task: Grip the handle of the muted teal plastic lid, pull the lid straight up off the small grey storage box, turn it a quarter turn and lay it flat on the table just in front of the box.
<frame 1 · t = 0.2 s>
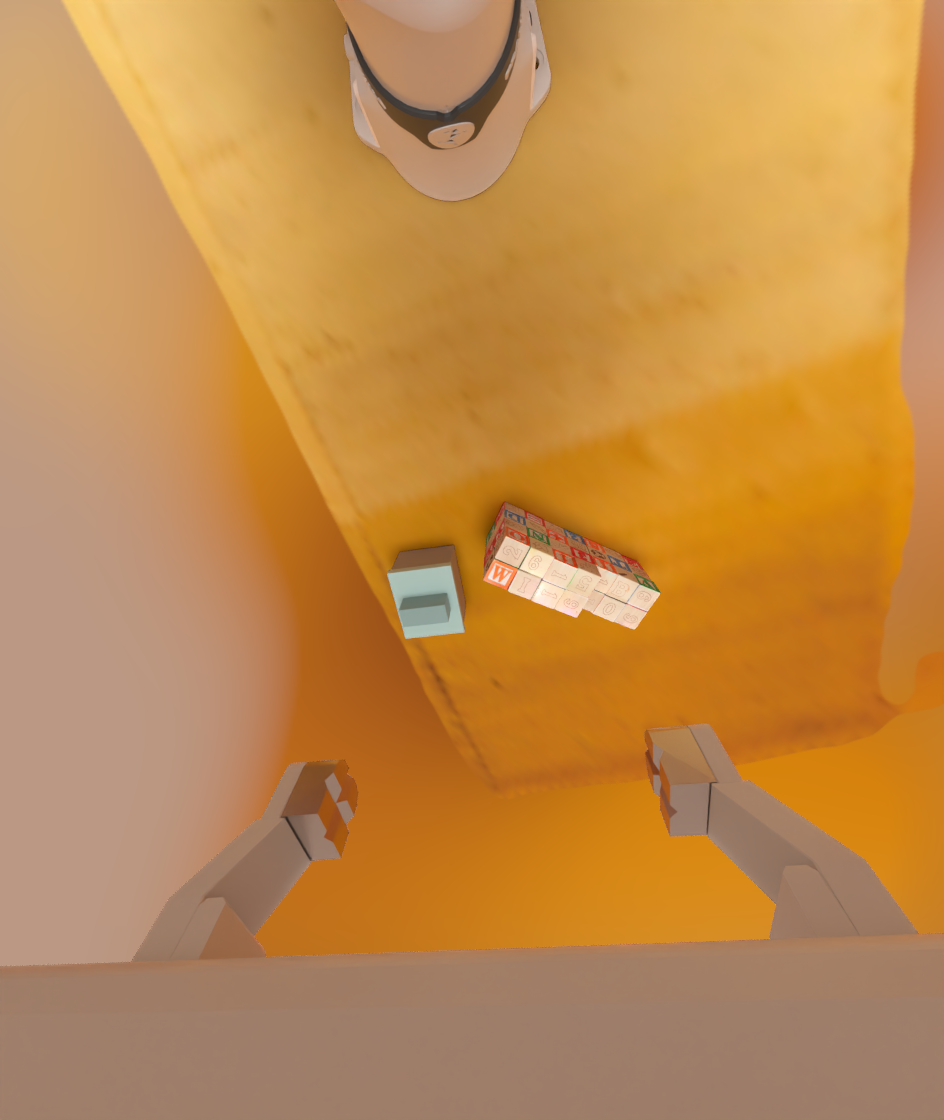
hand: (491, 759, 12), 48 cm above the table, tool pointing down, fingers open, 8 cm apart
lid: (429, 595, 59), point 5 cm above the table, touching storage box
stack of blocks: (561, 549, 61), on the table
storage box: (433, 578, 64), on the table
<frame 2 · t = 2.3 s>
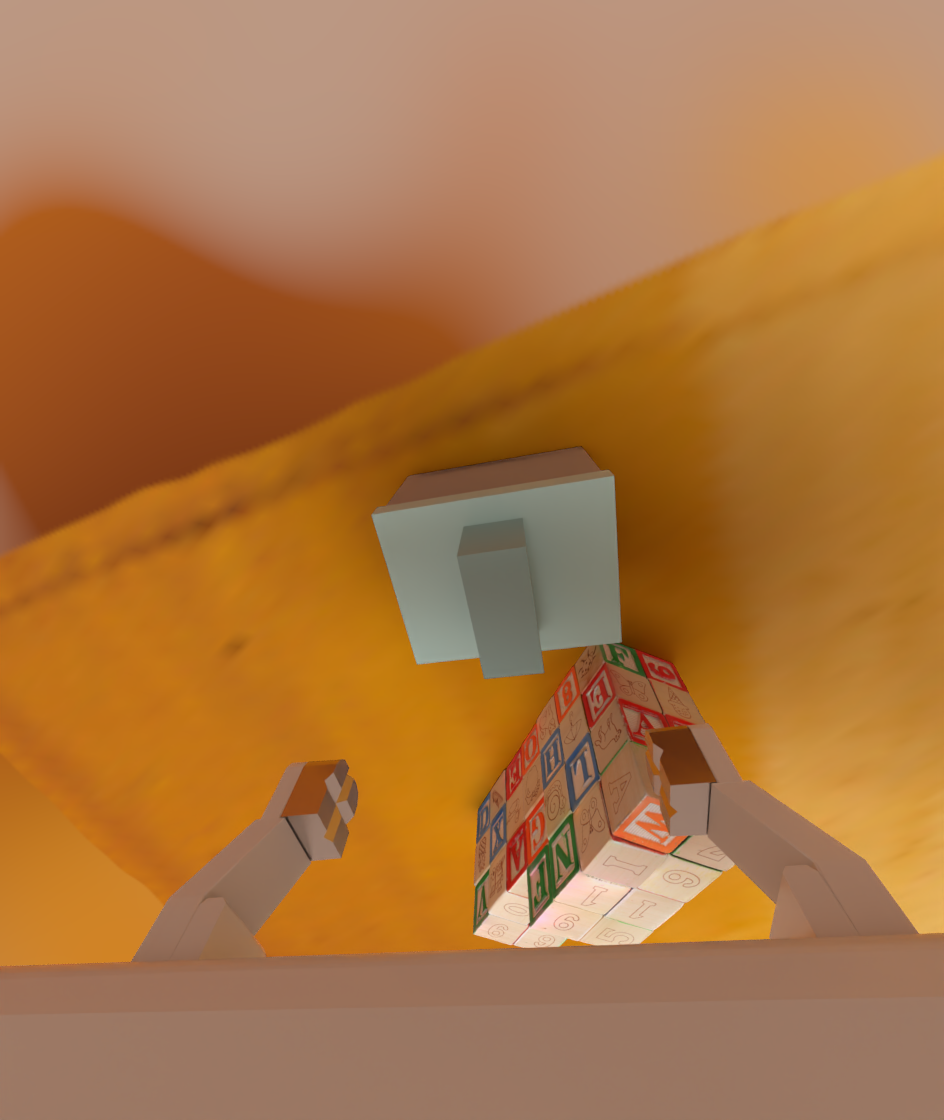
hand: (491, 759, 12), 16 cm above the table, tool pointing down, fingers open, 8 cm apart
lid: (503, 560, 22), point 5 cm above the table, touching storage box
stack of blocks: (562, 741, 34), on the table
storage box: (503, 526, 26), on the table
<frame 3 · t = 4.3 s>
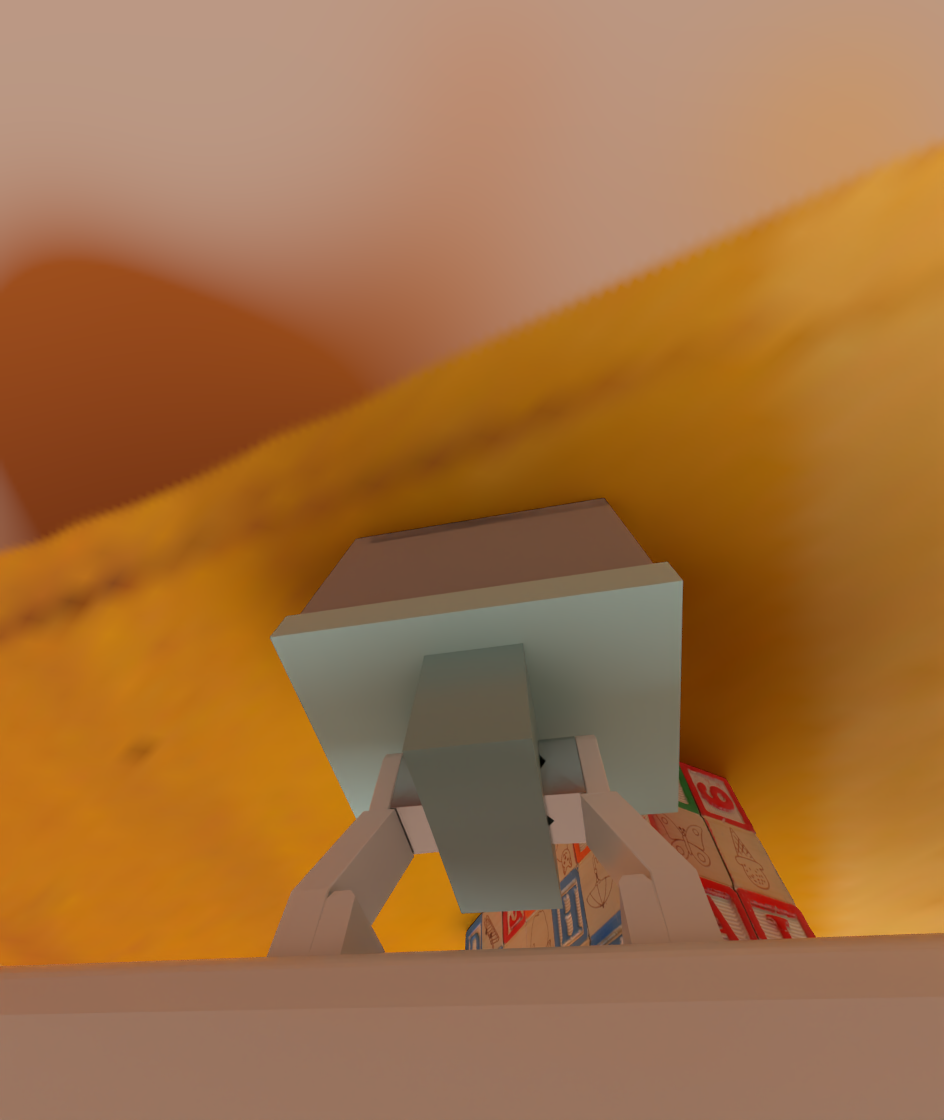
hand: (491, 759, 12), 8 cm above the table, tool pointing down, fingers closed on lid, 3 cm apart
lid: (492, 680, 14), point 5 cm above the table, touching gripper, storage box
stack of blocks: (575, 860, 27), on the table
storage box: (492, 604, 19), on the table
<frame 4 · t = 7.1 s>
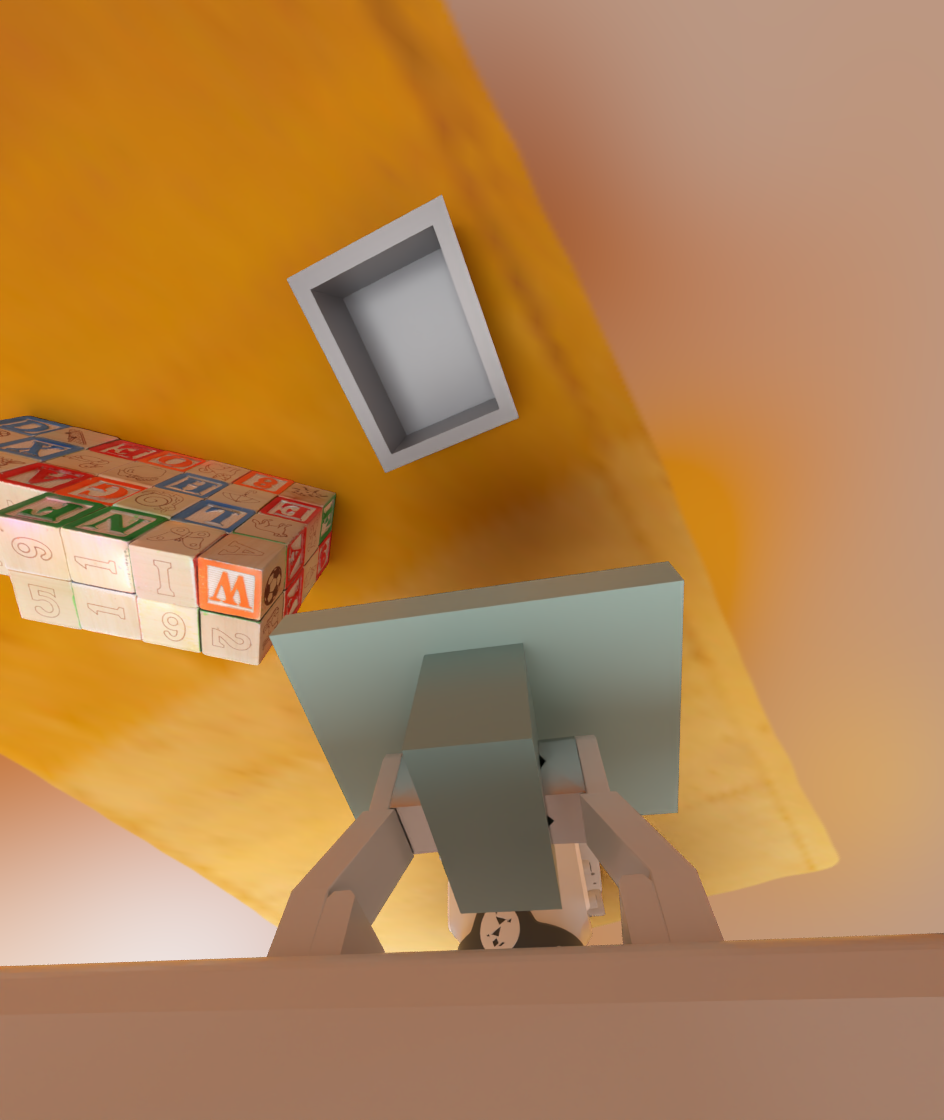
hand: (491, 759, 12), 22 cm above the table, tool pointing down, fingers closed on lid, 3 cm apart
lid: (492, 679, 14), point 19 cm above the table, touching gripper
stack of blocks: (192, 493, 32), on the table
storage box: (424, 349, 27), on the table
when the fingers open (5 cm above the table, at t = 10.0 s): lid drops 1 cm, on the table.
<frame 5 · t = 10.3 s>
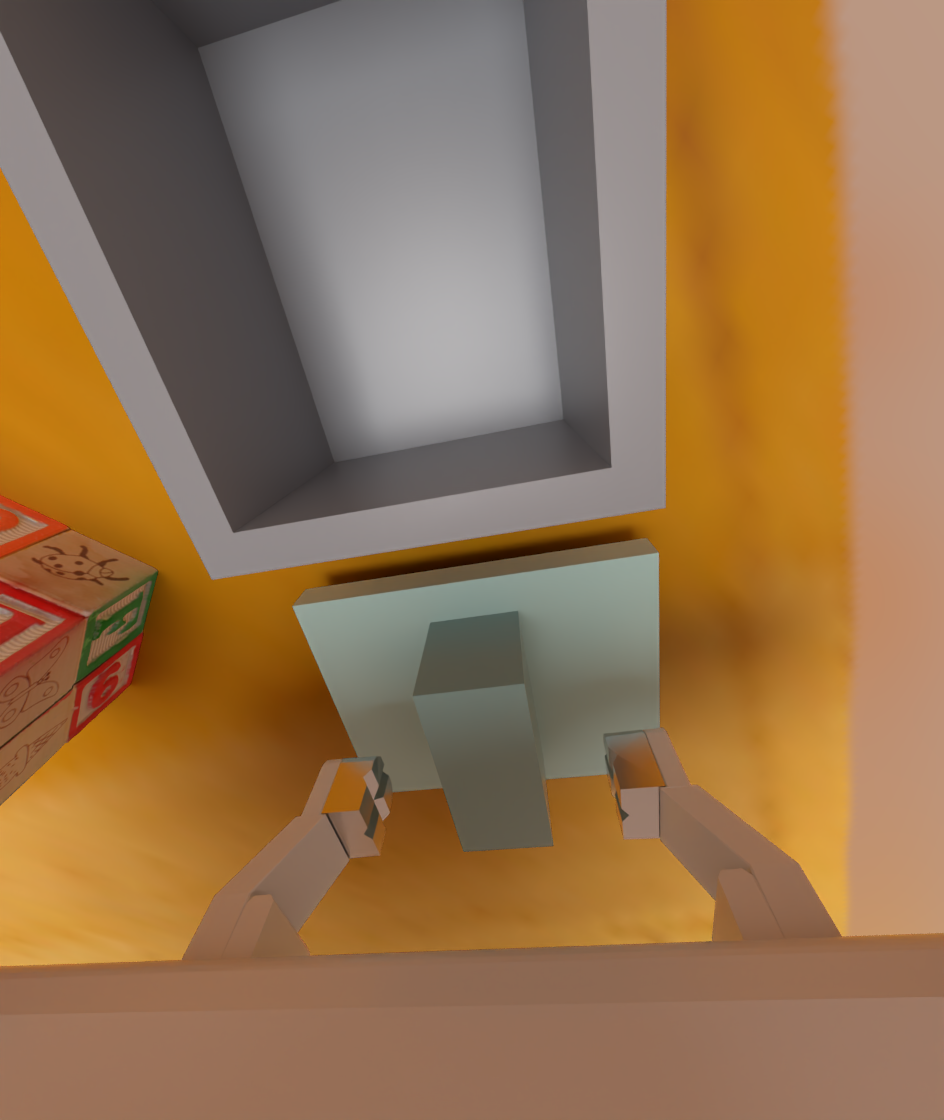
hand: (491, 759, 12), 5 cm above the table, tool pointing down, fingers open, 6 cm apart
lid: (491, 651, 16), on the table
storage box: (411, 265, 11), on the table
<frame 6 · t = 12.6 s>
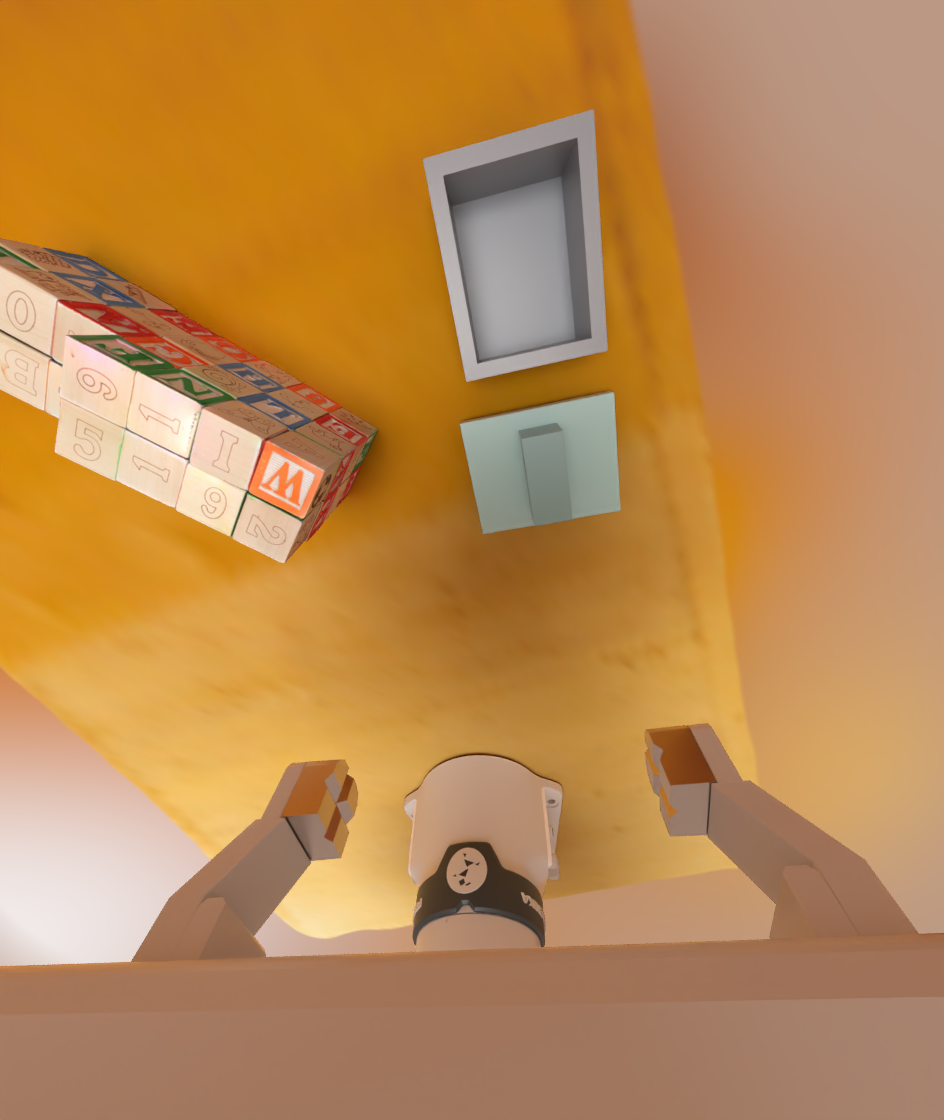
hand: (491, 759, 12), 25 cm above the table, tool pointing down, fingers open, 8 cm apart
lid: (540, 461, 33), on the table
stack of blocks: (233, 388, 31), on the table
storage box: (516, 277, 27), on the table
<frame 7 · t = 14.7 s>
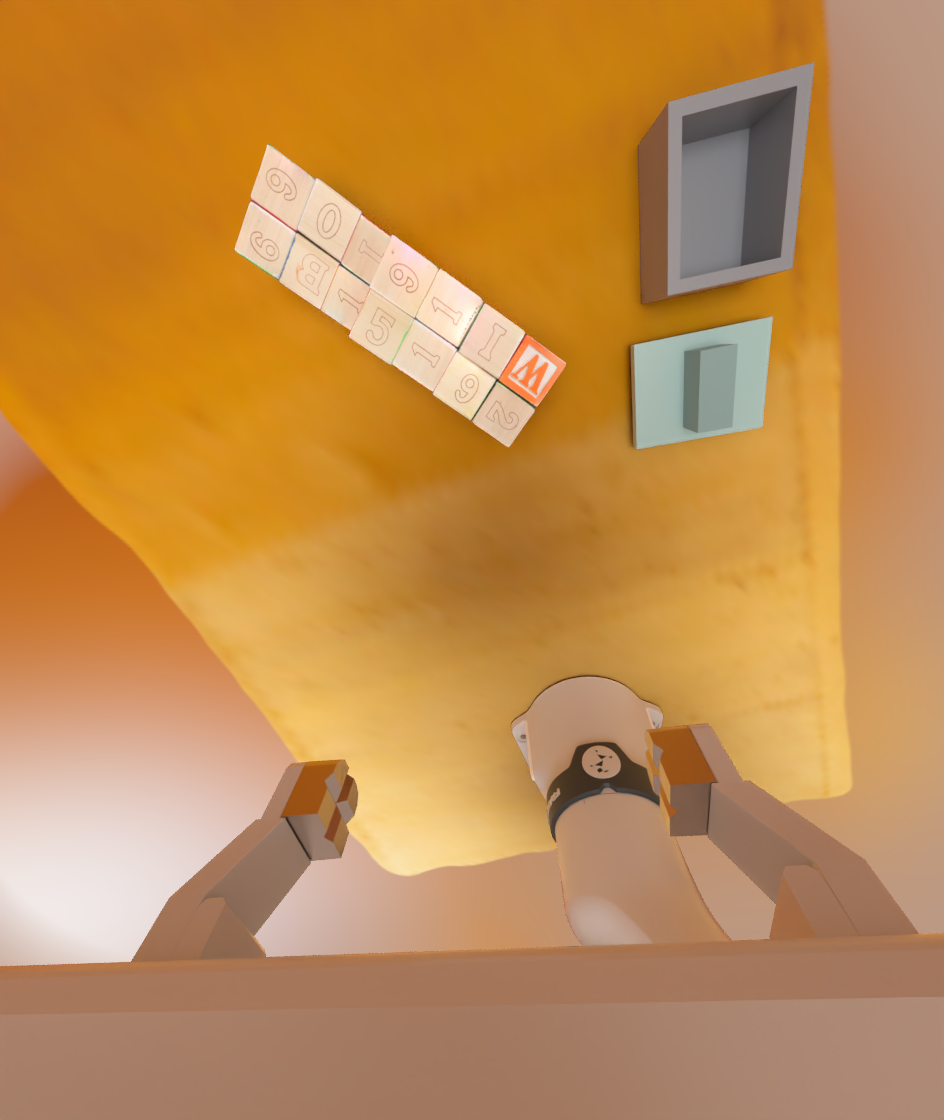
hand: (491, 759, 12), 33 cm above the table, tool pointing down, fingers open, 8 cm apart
lid: (689, 385, 37), on the table
stack of blocks: (423, 318, 36), on the table
storage box: (694, 217, 32), on the table
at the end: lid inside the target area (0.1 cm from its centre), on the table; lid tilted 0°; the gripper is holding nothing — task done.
